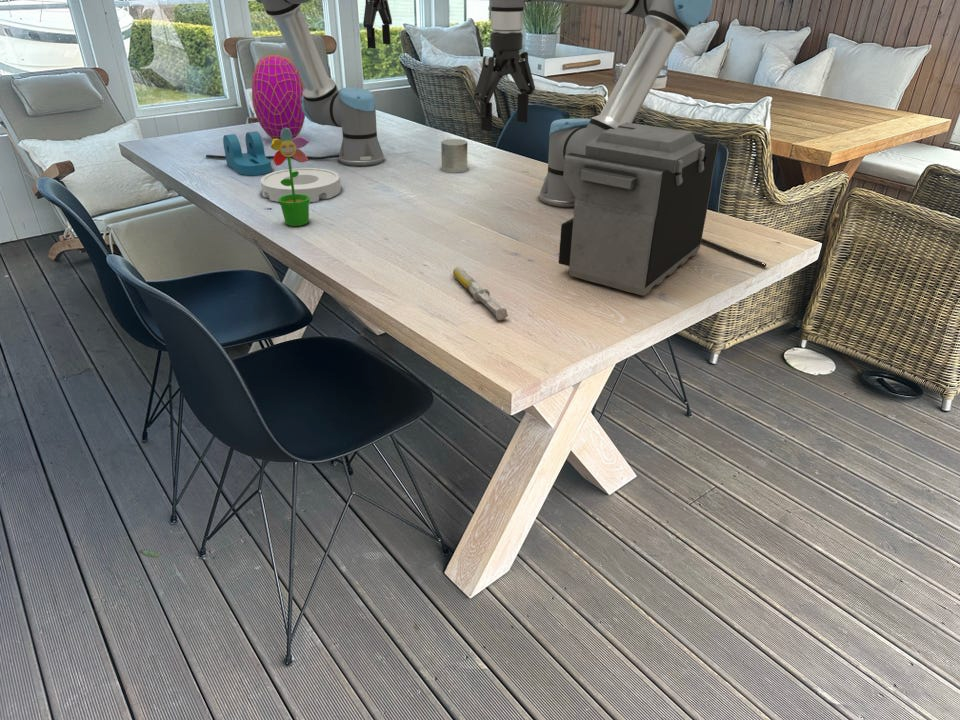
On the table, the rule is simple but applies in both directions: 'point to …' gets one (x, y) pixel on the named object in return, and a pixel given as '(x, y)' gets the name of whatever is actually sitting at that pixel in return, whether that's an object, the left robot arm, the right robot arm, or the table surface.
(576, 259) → the grey cooler box
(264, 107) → the decorative egg
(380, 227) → the table surface
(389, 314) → the table surface
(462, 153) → the can
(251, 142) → the camera mount
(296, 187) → the white notched ring base
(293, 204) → the potted flower
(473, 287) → the syringe
